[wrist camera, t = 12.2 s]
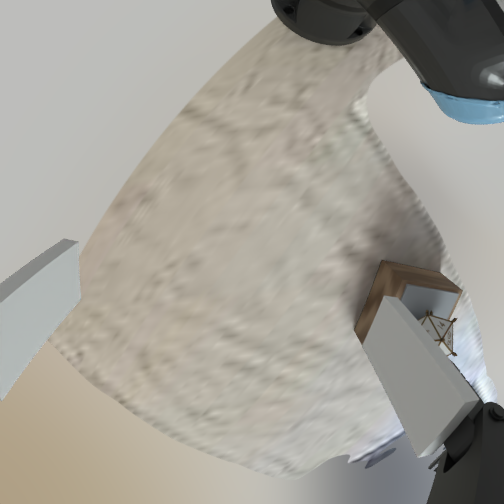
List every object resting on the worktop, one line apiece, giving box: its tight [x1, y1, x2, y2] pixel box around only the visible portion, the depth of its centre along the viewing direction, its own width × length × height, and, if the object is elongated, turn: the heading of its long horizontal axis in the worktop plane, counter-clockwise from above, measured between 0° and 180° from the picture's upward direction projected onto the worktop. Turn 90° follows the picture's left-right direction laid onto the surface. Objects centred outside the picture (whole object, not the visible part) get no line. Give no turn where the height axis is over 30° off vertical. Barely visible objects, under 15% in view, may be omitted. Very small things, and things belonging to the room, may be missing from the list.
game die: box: [418, 310, 457, 356], centre depth 35 cm, size 9×8×10 cm
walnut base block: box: [354, 260, 463, 345], centre depth 42 cm, size 13×13×7 cm
